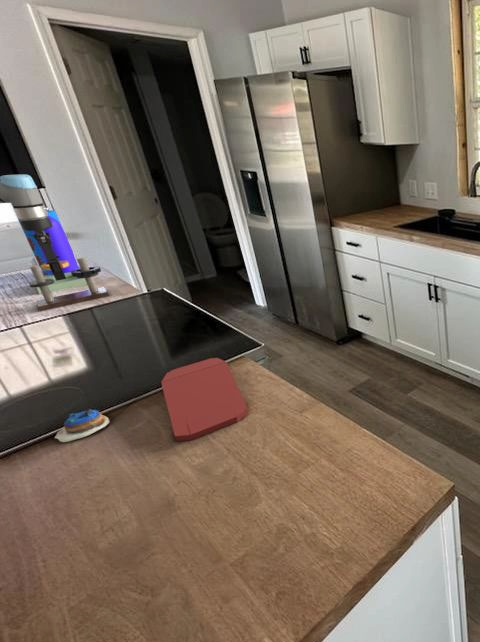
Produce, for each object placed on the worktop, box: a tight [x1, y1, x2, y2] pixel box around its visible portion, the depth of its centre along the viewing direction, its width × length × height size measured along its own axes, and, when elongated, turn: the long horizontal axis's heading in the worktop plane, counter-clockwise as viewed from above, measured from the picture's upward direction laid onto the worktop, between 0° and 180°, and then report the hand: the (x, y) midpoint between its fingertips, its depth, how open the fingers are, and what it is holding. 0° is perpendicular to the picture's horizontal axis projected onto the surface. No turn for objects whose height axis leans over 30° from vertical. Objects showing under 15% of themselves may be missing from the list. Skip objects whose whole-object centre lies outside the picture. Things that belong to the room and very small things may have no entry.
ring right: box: [71, 265, 102, 277], centre depth 144 cm, size 7×7×1 cm
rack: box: [28, 257, 110, 312], centre depth 141 cm, size 17×8×14 cm, turn 139°
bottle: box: [33, 215, 80, 276], centre depth 164 cm, size 8×8×30 cm
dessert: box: [54, 408, 111, 443], centre depth 81 cm, size 8×7×6 cm
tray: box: [34, 272, 88, 295], centre depth 159 cm, size 15×13×3 cm
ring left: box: [40, 261, 69, 271], centre depth 156 cm, size 7×7×1 cm
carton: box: [160, 357, 250, 442], centre depth 90 cm, size 12×5×25 cm
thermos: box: [17, 210, 76, 276], centre depth 170 cm, size 11×11×25 cm
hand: (60, 277), depth 158 cm, fingers closed on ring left, 7 cm apart
